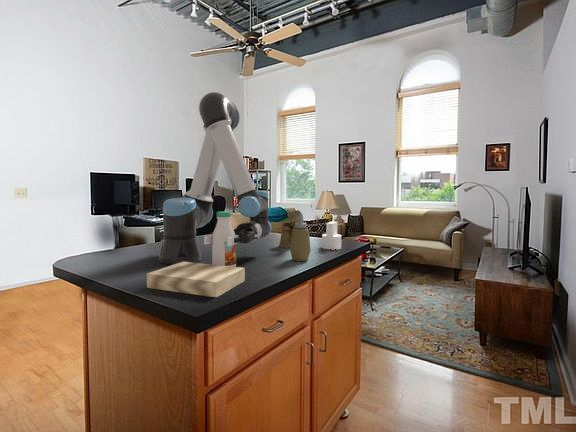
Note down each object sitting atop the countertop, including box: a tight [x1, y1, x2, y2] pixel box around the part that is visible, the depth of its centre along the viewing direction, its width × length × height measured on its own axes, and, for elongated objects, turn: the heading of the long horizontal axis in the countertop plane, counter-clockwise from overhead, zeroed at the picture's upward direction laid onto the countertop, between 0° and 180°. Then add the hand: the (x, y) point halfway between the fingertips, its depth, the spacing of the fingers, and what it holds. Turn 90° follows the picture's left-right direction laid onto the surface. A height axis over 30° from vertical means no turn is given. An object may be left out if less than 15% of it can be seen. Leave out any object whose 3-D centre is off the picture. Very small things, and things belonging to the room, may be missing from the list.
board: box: [146, 262, 246, 298], centre depth 96 cm, size 22×16×4 cm
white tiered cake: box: [321, 221, 342, 251], centre depth 157 cm, size 9×9×12 cm
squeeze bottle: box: [289, 213, 311, 262], centre depth 129 cm, size 8×8×18 cm
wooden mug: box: [278, 210, 303, 249], centre depth 156 cm, size 9×14×18 cm, turn 27°
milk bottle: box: [211, 211, 237, 267], centre depth 109 cm, size 8×8×20 cm
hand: (216, 241), depth 105 cm, fingers closed on milk bottle, 7 cm apart
